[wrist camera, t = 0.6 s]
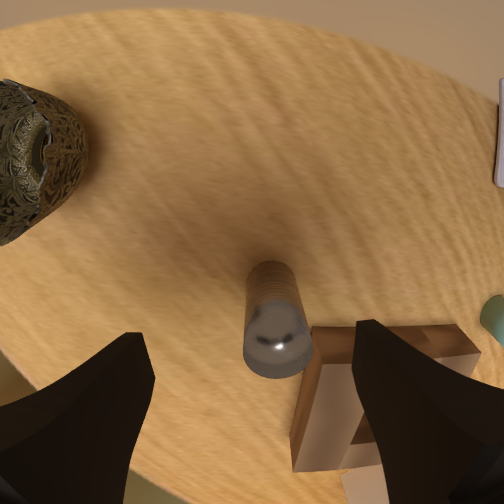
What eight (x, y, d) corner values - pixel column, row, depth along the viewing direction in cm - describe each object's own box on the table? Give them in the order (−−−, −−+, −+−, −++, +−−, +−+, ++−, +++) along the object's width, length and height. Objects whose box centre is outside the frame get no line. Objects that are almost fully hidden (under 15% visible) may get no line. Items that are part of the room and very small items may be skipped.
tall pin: (298, 262, 19) (318, 324, 13) (292, 306, 20) (307, 379, 14) (248, 259, 19) (244, 321, 13) (245, 303, 20) (241, 377, 14)
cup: (131, 194, 18) (59, 232, 10) (41, 217, 18) (-39, 258, 11) (112, 76, 16) (32, 49, 8) (23, 114, 16) (-63, 117, 8)
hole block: (456, 324, 21) (481, 352, 17) (409, 426, 25) (422, 456, 21) (312, 326, 21) (322, 364, 17) (289, 436, 25) (292, 472, 21)
